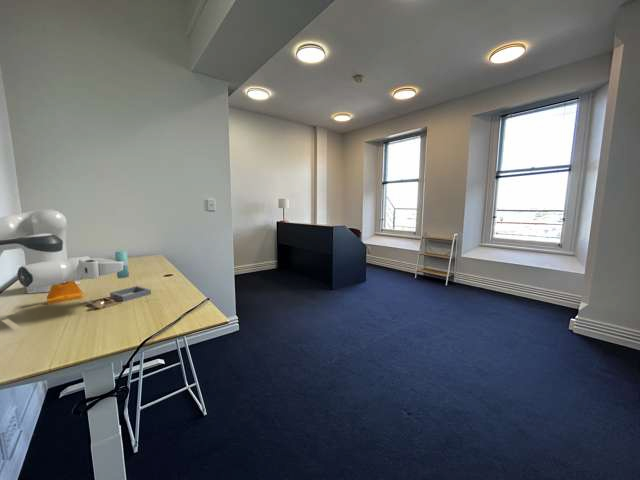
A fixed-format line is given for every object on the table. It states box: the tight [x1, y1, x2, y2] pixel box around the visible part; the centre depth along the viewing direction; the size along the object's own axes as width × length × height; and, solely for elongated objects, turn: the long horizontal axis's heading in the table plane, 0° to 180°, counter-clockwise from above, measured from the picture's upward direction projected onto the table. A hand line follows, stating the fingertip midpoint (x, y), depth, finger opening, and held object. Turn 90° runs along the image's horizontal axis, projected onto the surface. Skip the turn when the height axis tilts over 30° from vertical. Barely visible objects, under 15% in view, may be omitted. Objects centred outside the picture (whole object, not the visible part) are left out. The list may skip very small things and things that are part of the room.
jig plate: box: [80, 296, 122, 311], centre depth 105 cm, size 14×9×2 cm, turn 62°
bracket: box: [46, 281, 84, 305], centre depth 109 cm, size 11×7×12 cm, turn 136°
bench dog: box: [94, 301, 106, 311], centre depth 100 cm, size 3×3×2 cm
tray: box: [109, 285, 152, 303], centre depth 115 cm, size 11×11×3 cm
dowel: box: [114, 250, 130, 279], centre depth 111 cm, size 4×4×11 cm
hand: (124, 261), depth 111 cm, fingers closed on dowel, 4 cm apart
